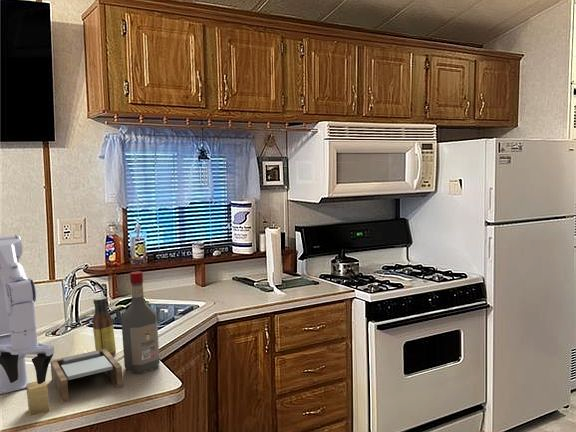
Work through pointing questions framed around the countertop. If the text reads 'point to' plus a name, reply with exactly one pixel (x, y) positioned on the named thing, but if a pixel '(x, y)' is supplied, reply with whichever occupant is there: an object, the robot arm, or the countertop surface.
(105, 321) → the sauce bottle
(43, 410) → the yellow wooden block
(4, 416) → the countertop surface
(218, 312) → the countertop surface
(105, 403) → the countertop surface
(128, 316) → the liquor
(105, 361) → the trapdoor
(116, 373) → the frame
